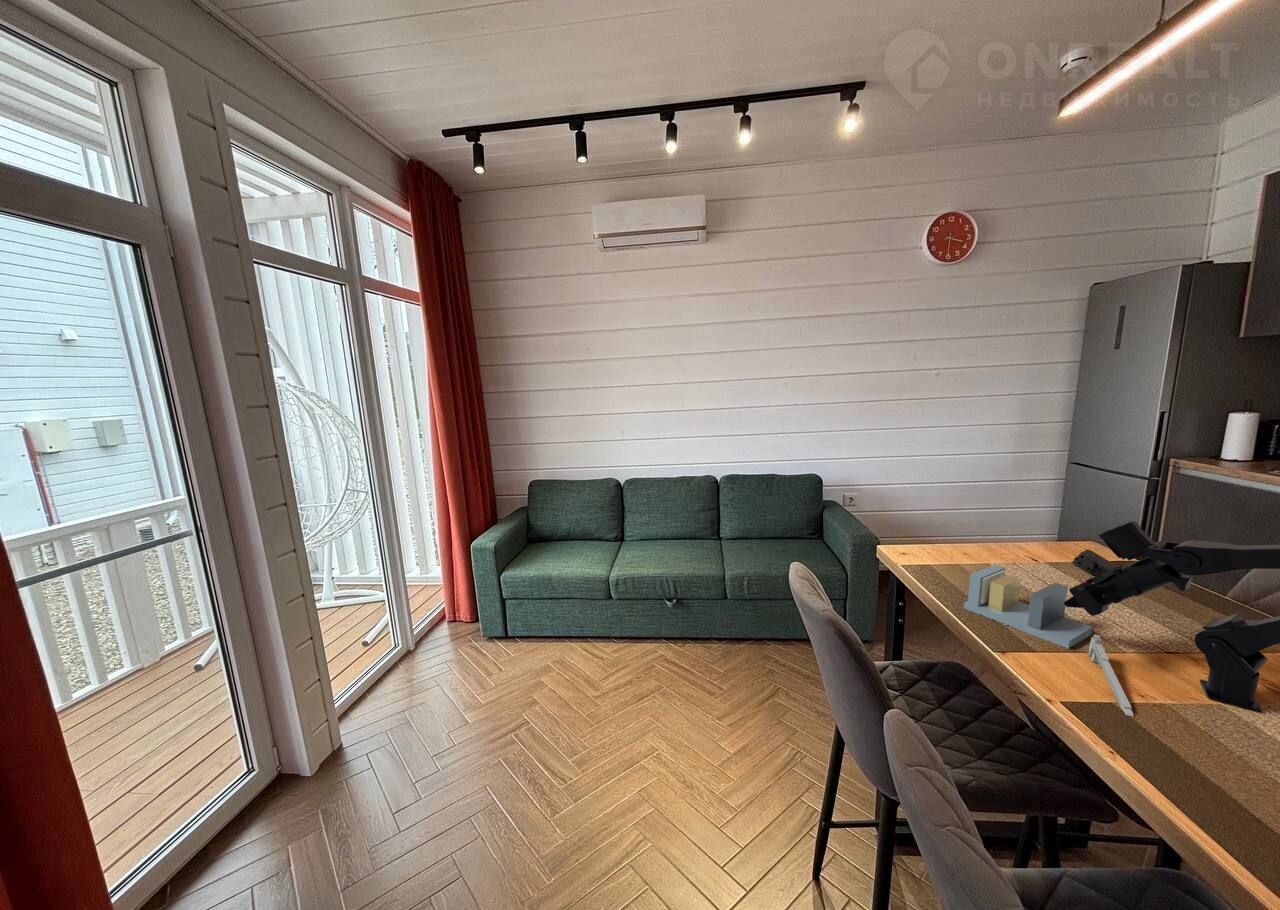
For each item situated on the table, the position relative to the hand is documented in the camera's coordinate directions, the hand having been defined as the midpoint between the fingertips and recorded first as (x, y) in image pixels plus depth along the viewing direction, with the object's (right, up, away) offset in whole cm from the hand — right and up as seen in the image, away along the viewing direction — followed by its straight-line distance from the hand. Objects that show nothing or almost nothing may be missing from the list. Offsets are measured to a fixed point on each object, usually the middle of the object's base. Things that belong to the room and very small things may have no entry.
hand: (1065, 604), depth 110 cm
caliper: (-6, -11, -16) cm, 21 cm away
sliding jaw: (-1, -5, +4) cm, 7 cm away
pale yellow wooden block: (-6, -4, +12) cm, 14 cm away
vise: (-3, -7, +8) cm, 11 cm away
